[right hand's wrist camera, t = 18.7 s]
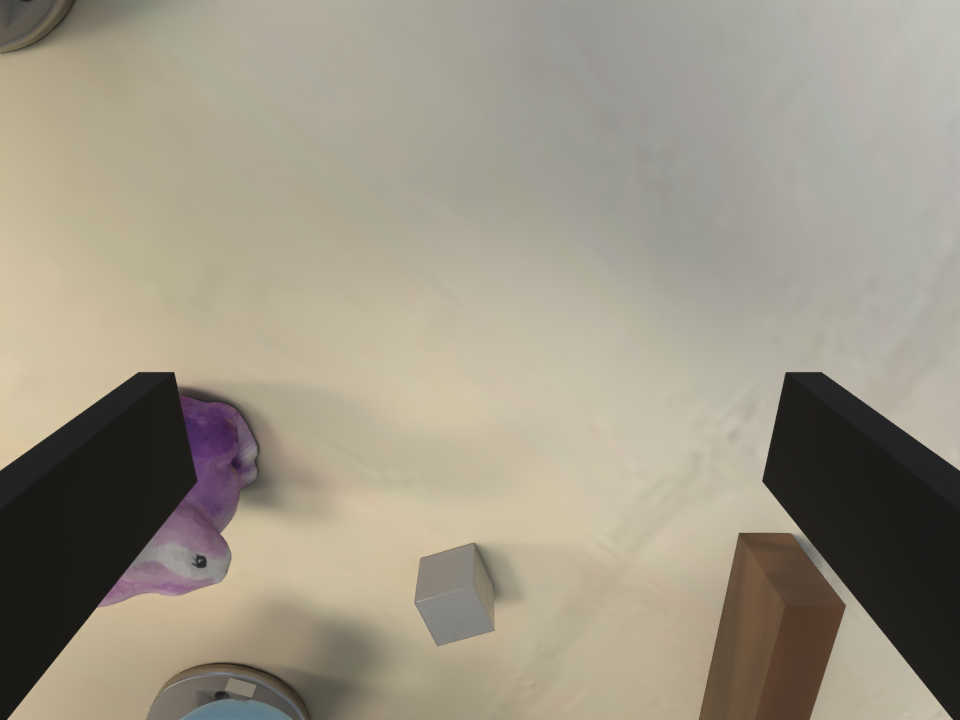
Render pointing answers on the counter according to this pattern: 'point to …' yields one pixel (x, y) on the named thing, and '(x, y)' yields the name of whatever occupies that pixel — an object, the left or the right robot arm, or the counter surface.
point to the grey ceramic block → (455, 595)
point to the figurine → (197, 509)
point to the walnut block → (771, 633)
